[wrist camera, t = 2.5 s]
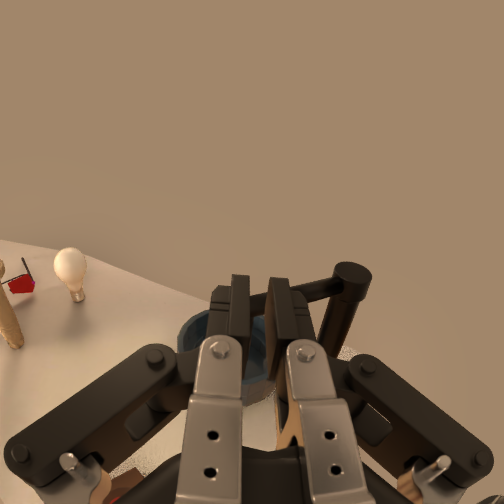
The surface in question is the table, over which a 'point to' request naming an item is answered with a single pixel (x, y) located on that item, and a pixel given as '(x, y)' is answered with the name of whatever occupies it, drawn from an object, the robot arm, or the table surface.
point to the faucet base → (336, 325)
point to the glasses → (22, 282)
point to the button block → (123, 484)
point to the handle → (8, 318)
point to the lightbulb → (71, 271)
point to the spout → (324, 289)
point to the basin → (256, 366)
